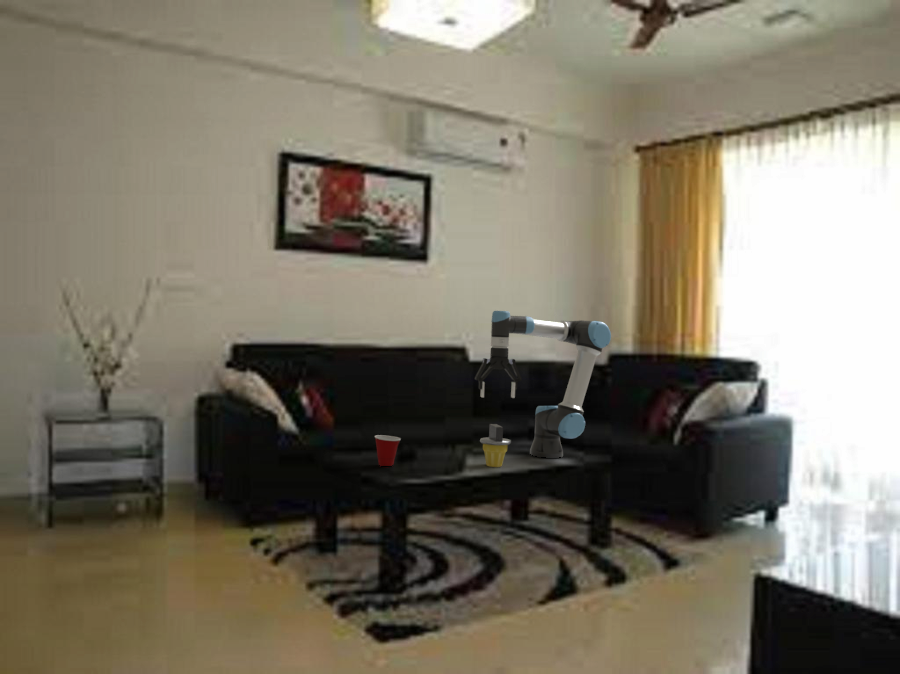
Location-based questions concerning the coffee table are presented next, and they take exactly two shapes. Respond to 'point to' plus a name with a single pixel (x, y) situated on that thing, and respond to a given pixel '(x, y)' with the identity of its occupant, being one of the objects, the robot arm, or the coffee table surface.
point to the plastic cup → (386, 449)
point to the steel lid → (495, 436)
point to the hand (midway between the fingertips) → (497, 397)
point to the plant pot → (494, 454)
